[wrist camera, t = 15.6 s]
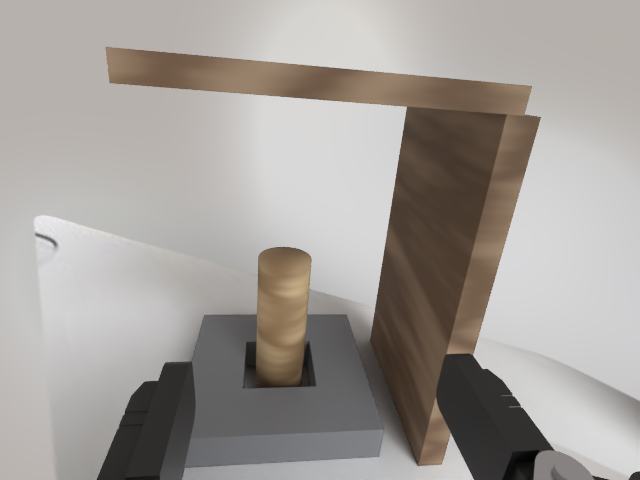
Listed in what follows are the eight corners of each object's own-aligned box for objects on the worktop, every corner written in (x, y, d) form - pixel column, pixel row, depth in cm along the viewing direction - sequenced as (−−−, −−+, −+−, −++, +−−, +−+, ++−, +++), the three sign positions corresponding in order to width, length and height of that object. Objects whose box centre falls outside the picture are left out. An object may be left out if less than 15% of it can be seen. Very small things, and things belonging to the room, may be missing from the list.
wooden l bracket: (386, 340, 46) (432, 82, 35) (441, 464, 31) (549, 87, 21) (194, 342, 43) (179, 59, 32) (156, 481, 28) (105, 46, 17)
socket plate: (343, 335, 46) (346, 314, 45) (378, 456, 32) (384, 429, 30) (205, 337, 44) (204, 314, 43) (173, 468, 29) (171, 439, 28)
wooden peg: (299, 371, 40) (308, 247, 35) (302, 404, 36) (314, 270, 31) (256, 372, 39) (258, 246, 34) (254, 406, 35) (257, 269, 30)
